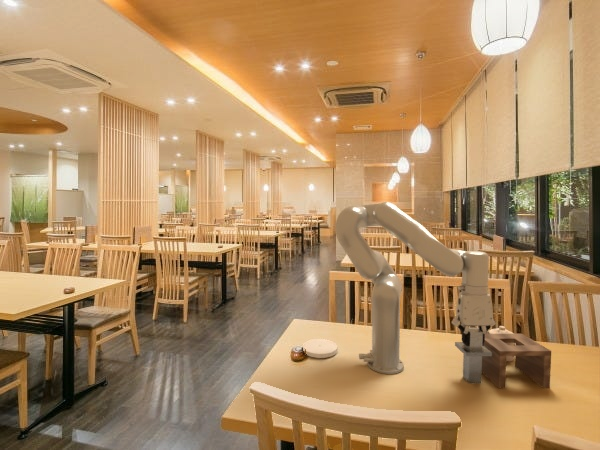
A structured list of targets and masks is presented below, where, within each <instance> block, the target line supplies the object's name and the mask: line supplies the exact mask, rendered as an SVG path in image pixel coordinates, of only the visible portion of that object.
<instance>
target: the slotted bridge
mask: <svg viewBox="0 0 600 450" xmlns="http://www.w3.org/2000/svg"><path fill="white" fill-rule="evenodd" d="M506 343H515V345H507V344H506ZM484 347H486V348H487V349H488V350H489V351H491V352H492V356H482V373H481V374H483V375H484V376H485V377H486V378H487V379H488V380H489V381H490V382H492V383H493V384H494V385H495V386H496V387H497V388H498V389H506V381H507V380H506V379H507V377H506V376H507V362H506V356H515V359H514V360H515V361H514V367H515V368H516V369H518V370H519V372H521V373H523V374H525V376H526V377H528V378H530V379H531V380H532V381H533V382H535V383H536V384H537V385H538V386H540V387H541V388H543V389H550V388H551V367H552V365H551V364H552V350H550V349H549V348H547V347H545V346H543V345H542V344H540V343H539V342H537V341H535V340H533V339H532V338H530V337H528V336H527V335H525V334H523V333H514V334H488V333H486V334H485V342H484Z"/></svg>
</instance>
